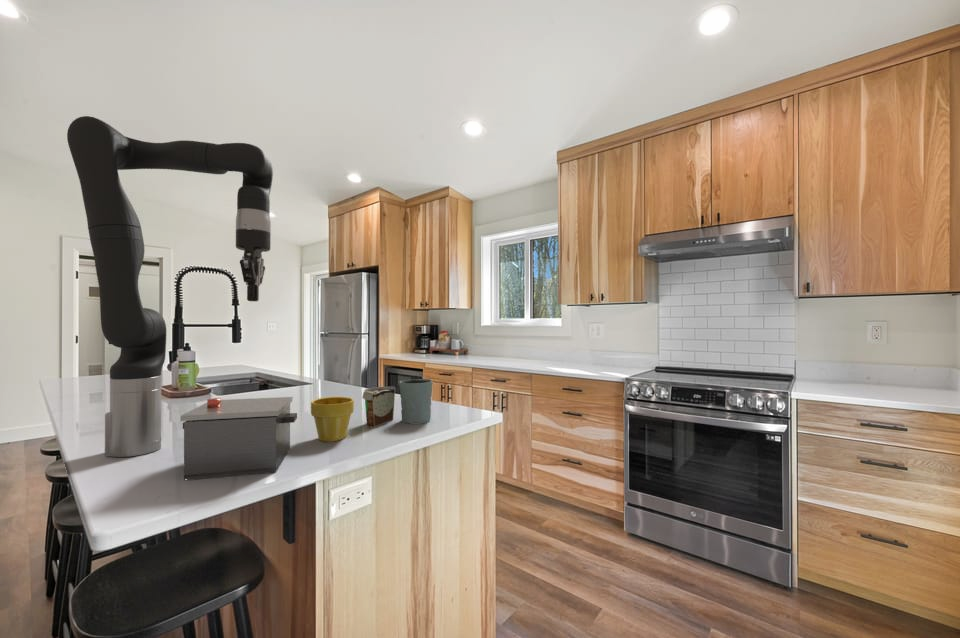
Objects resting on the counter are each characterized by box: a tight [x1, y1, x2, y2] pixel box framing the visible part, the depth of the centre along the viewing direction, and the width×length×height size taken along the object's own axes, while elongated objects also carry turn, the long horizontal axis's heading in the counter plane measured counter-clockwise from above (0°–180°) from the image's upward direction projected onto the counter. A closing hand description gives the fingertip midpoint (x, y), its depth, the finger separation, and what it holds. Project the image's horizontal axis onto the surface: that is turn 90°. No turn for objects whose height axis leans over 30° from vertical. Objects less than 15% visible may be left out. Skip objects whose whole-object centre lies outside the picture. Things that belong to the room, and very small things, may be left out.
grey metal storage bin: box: [182, 403, 298, 481], centre depth 90 cm, size 21×16×11 cm
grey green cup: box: [398, 378, 433, 425], centre depth 128 cm, size 10×10×12 cm
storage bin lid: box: [179, 396, 294, 422], centre depth 90 cm, size 17×16×2 cm
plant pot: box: [310, 396, 355, 443], centre depth 109 cm, size 10×10×10 cm
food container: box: [362, 386, 397, 428], centre depth 125 cm, size 12×6×10 cm, turn 157°
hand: (252, 301), depth 103 cm, fingers closed
